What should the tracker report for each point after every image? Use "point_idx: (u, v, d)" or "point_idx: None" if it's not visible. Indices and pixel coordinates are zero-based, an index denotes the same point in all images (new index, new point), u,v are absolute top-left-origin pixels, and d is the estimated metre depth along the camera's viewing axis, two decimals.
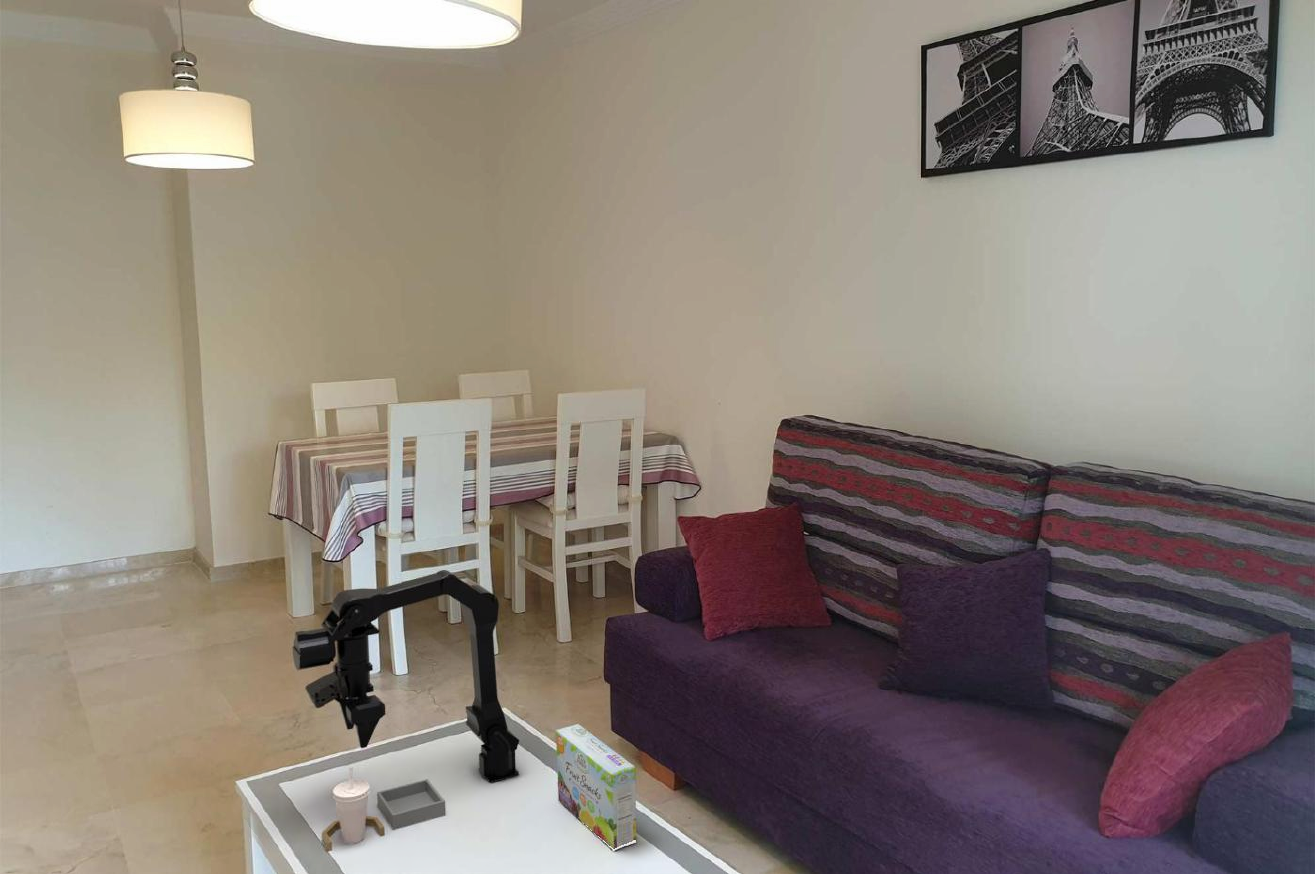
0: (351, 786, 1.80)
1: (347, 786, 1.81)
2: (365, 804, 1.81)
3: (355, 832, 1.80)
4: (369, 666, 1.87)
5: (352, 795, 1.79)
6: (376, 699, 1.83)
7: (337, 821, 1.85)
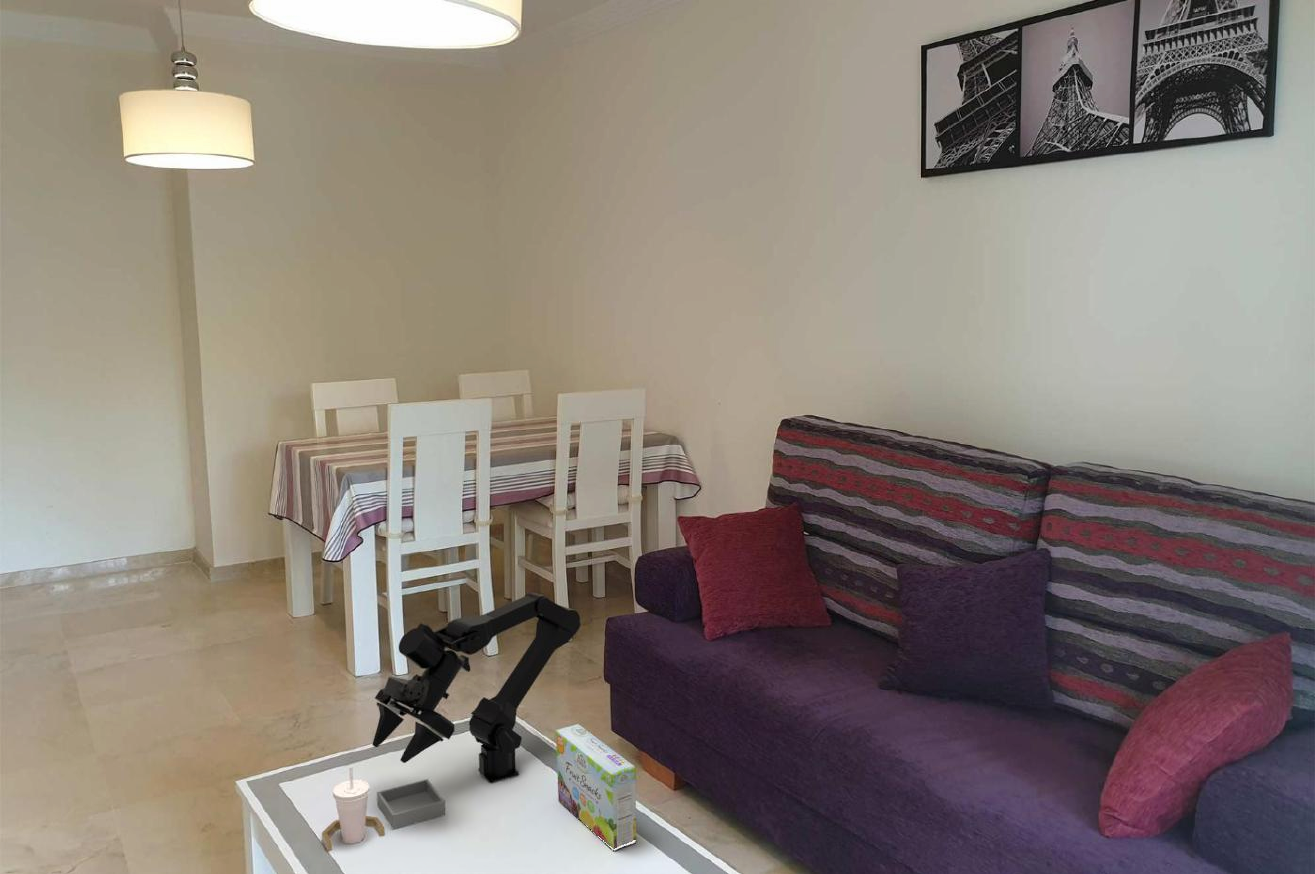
0: (351, 786, 1.80)
1: (347, 786, 1.81)
2: (365, 804, 1.81)
3: (355, 832, 1.80)
4: (447, 694, 1.92)
5: (352, 795, 1.79)
6: None
7: (337, 821, 1.85)
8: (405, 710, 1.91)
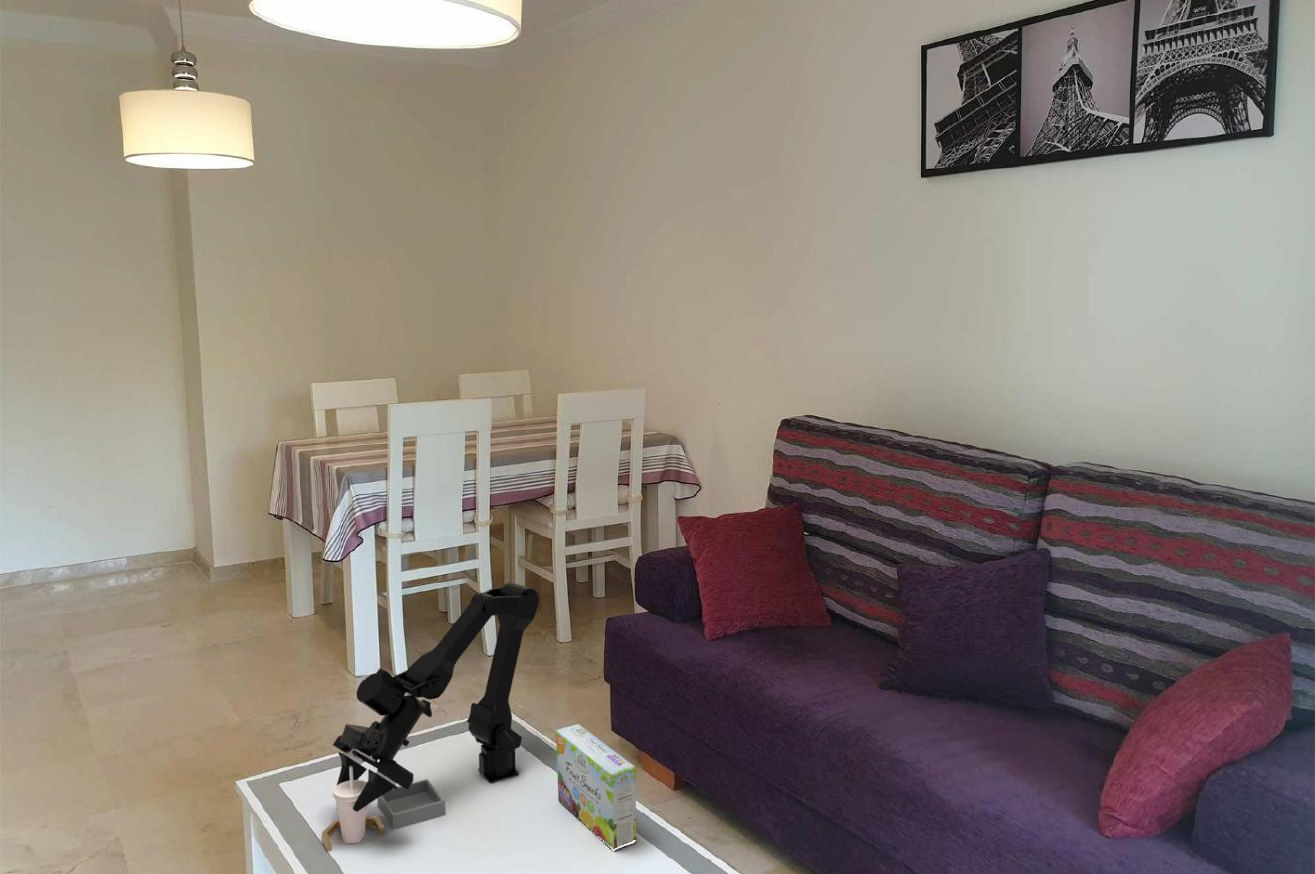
0: (351, 786, 1.80)
1: (347, 786, 1.81)
2: None
3: (355, 832, 1.80)
4: (407, 741, 1.86)
5: (352, 795, 1.79)
6: None
7: (337, 821, 1.85)
8: (363, 758, 1.85)
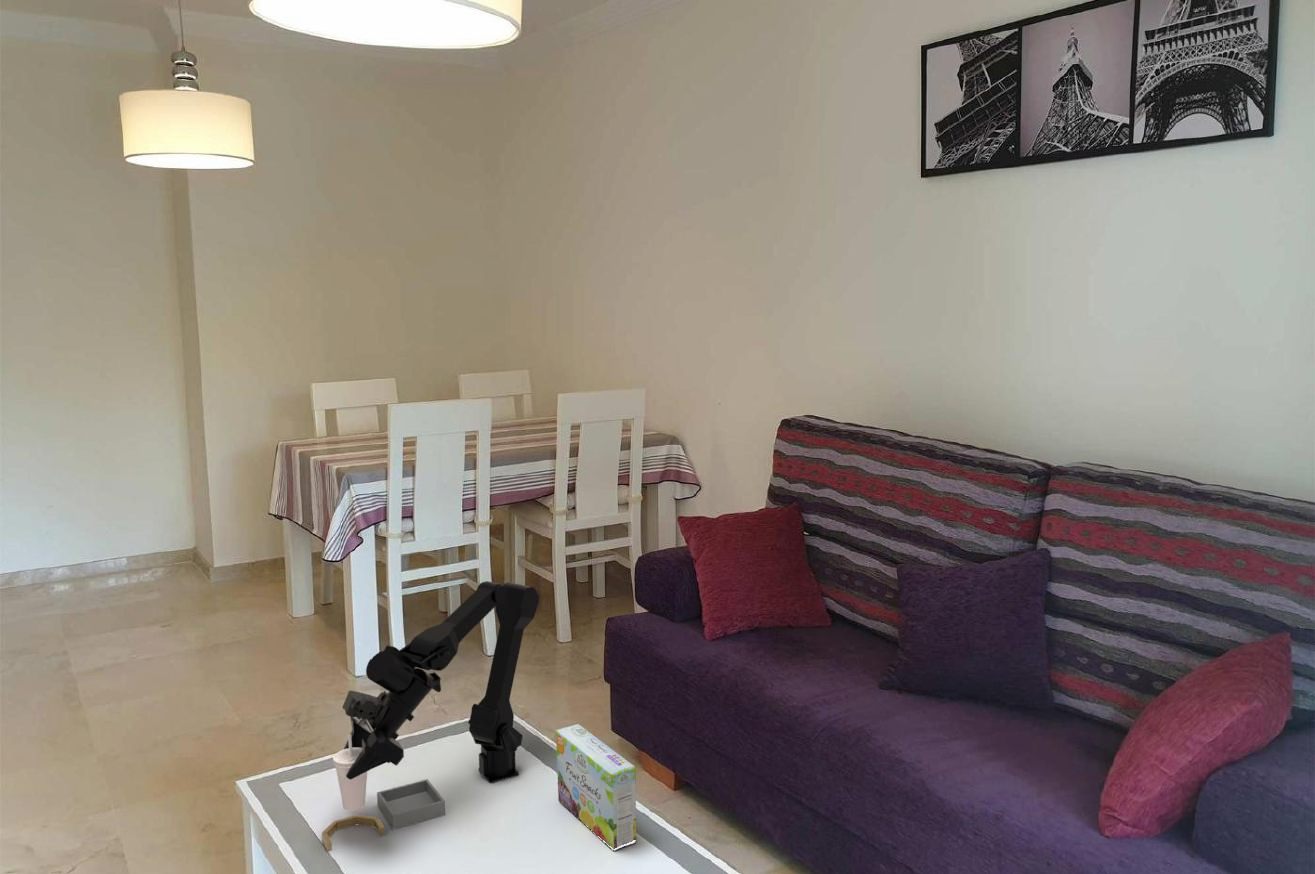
0: (350, 753, 1.80)
1: (348, 752, 1.81)
2: None
3: (351, 800, 1.79)
4: (411, 715, 1.82)
5: (347, 762, 1.78)
6: (400, 746, 1.76)
7: (337, 821, 1.85)
8: None
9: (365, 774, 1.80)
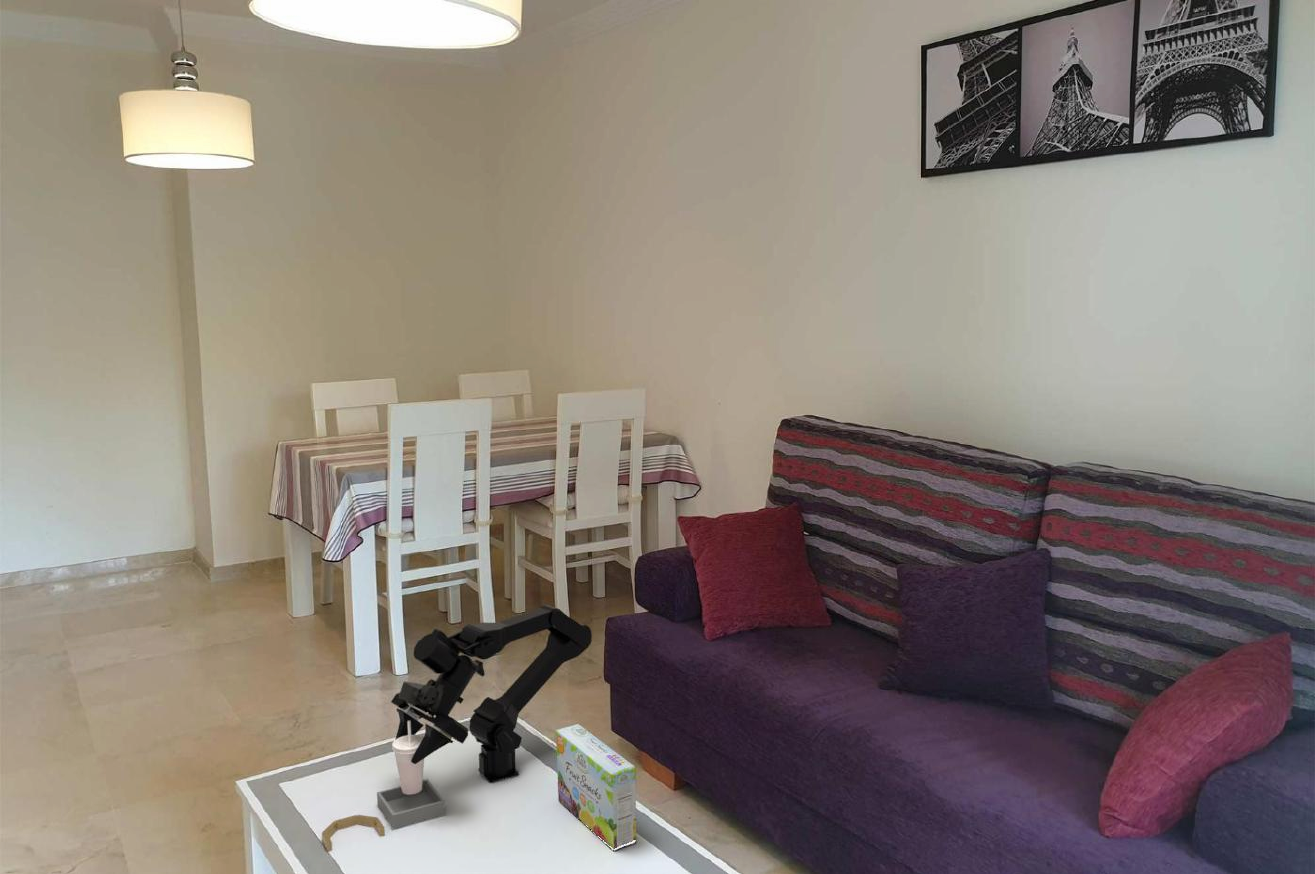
0: (409, 740, 1.89)
1: (405, 740, 1.91)
2: None
3: (413, 784, 1.89)
4: (461, 698, 1.95)
5: (411, 748, 1.88)
6: None
7: (337, 821, 1.85)
8: (420, 714, 1.94)
9: None
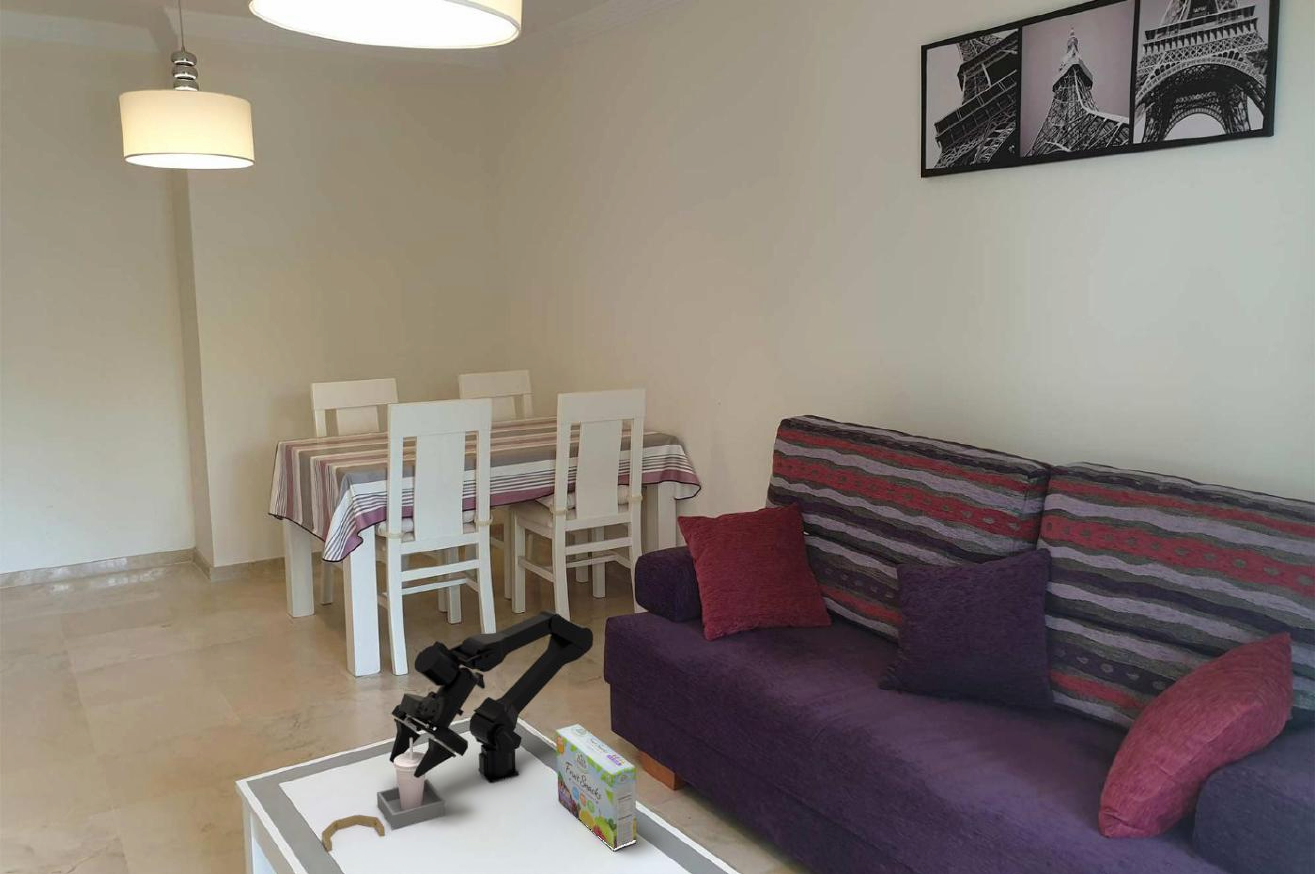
0: (411, 757, 1.90)
1: (407, 757, 1.91)
2: None
3: (413, 801, 1.90)
4: (461, 710, 1.95)
5: (412, 765, 1.88)
6: None
7: (337, 821, 1.85)
8: (420, 726, 1.94)
9: (424, 775, 1.91)
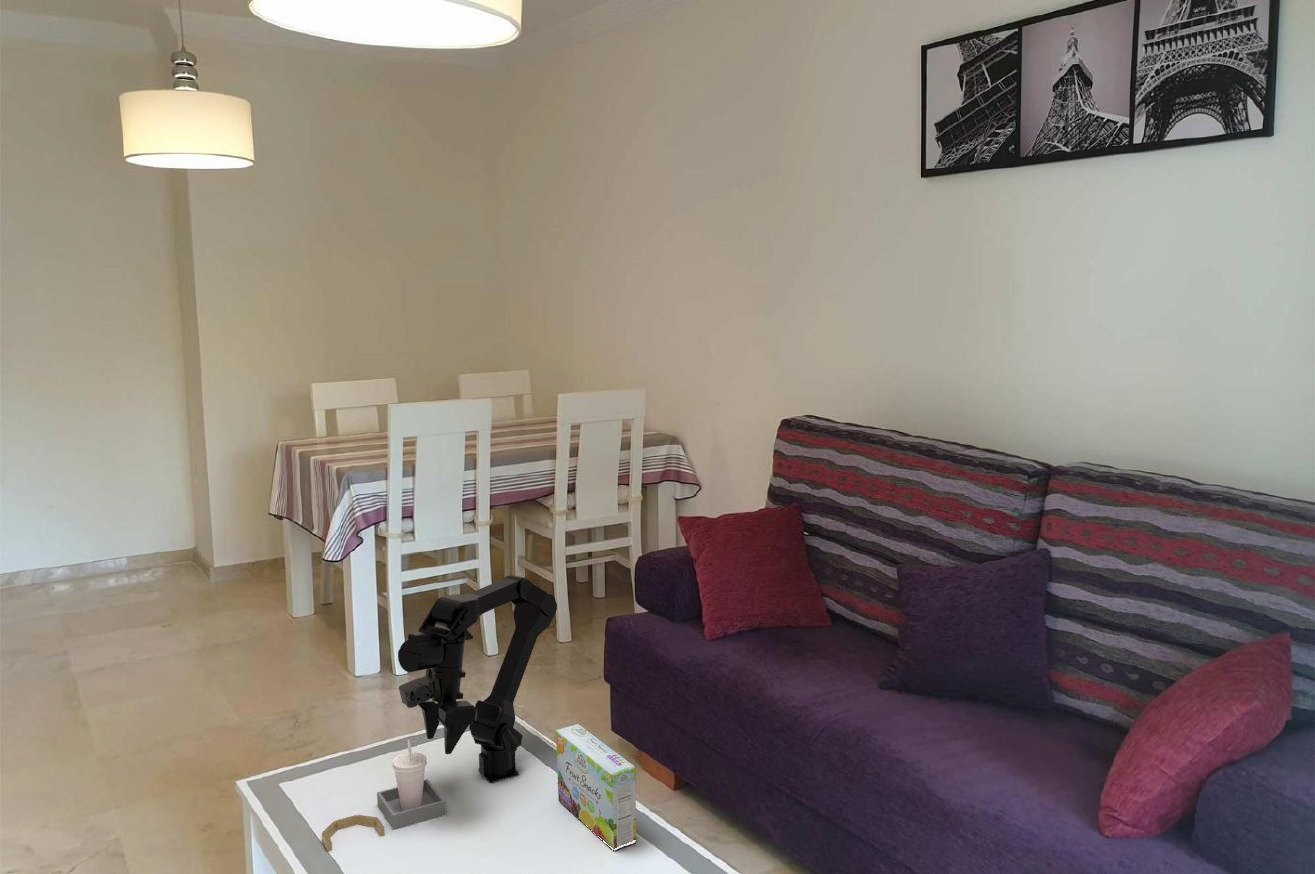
0: (409, 758, 1.90)
1: (405, 758, 1.91)
2: (422, 775, 1.90)
3: (413, 802, 1.90)
4: (462, 673, 1.91)
5: (410, 766, 1.88)
6: (469, 704, 1.86)
7: (337, 821, 1.85)
8: None
9: None
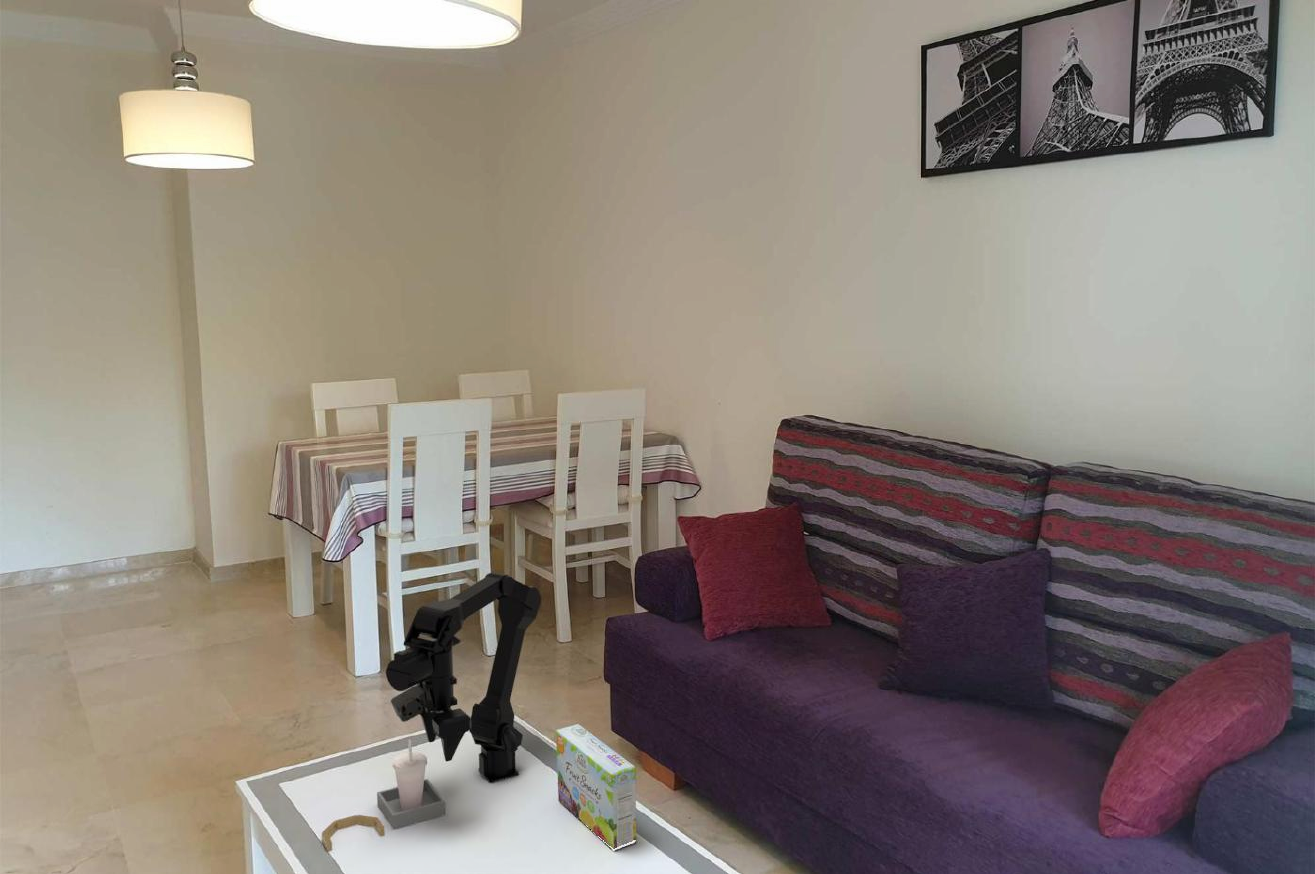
0: (410, 758, 1.90)
1: (406, 758, 1.91)
2: (423, 775, 1.90)
3: (413, 802, 1.90)
4: (453, 679, 1.87)
5: (411, 766, 1.88)
6: (462, 713, 1.83)
7: (337, 821, 1.85)
8: None
9: None
